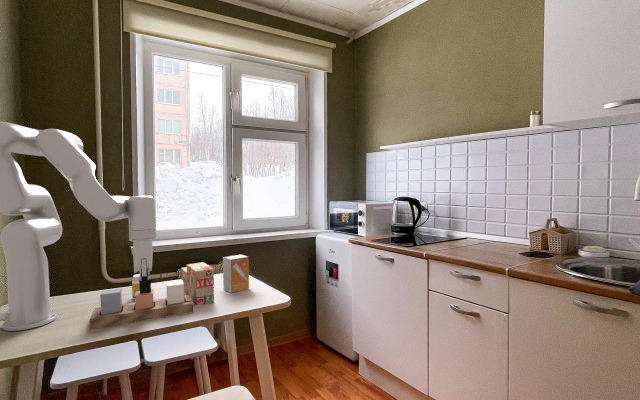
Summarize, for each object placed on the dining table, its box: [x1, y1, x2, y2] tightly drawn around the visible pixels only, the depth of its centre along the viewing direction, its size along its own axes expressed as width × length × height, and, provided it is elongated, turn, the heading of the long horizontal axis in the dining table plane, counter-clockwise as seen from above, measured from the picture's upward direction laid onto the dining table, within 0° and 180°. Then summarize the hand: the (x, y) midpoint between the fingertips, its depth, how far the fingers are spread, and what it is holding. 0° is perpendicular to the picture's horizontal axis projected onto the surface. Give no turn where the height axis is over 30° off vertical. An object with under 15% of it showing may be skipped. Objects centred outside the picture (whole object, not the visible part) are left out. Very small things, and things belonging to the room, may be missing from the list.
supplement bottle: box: [131, 273, 140, 300], centre depth 126 cm, size 5×5×8 cm
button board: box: [89, 294, 194, 330], centre depth 108 cm, size 28×10×3 cm, turn 116°
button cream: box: [165, 279, 185, 305], centre depth 112 cm, size 5×5×6 cm
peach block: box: [134, 288, 154, 310], centre depth 108 cm, size 5×5×6 cm
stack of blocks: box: [180, 261, 215, 307], centre depth 126 cm, size 21×6×12 cm, turn 35°
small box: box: [222, 254, 250, 293], centre depth 134 cm, size 8×6×13 cm
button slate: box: [99, 287, 123, 315], centre depth 104 cm, size 5×5×6 cm
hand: (145, 292), depth 108 cm, fingers closed
